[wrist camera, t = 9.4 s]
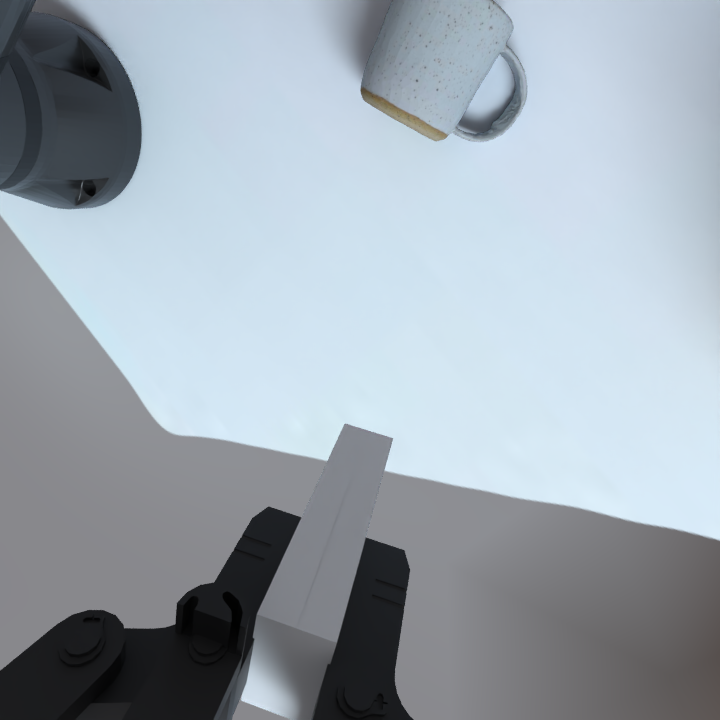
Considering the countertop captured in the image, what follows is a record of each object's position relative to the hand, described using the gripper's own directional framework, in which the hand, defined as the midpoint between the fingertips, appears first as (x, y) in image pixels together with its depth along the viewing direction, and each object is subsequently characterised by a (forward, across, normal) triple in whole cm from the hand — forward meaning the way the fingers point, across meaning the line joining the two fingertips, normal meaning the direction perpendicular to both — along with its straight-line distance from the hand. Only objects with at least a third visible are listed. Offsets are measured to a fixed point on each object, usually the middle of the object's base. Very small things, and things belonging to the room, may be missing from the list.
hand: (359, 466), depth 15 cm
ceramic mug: (+29, -2, +13) cm, 32 cm away
